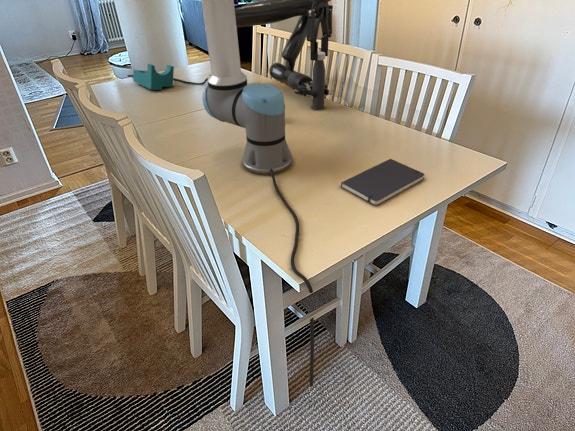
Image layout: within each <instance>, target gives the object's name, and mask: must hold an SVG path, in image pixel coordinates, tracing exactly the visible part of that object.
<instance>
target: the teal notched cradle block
mask: <svg viewBox="0 0 575 431" xmlns="http://www.w3.org/2000/svg"><path fill="white" fill-rule="evenodd" d="M174 70H175V66H173V65H171V64H167V65H166V68H165V70H164V71H163V72H161V73H160V72H158V71H157V70H156V66H155V65H154V64H152V63H147V70H143V69H141V70H140V69H133V70H132V75H133V77H132V81H133V82H134V83H136V84H138V85H141V86H143V87H144V88H147V89H149V90H154V91H155V90H157V91H158V90H159V91H163V87H164V88H165V87H166V88H174V80H173V78H174Z"/></svg>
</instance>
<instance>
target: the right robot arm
mask: <svg viewBox="0 0 575 431" xmlns="http://www.w3.org/2000/svg"><path fill="white" fill-rule="evenodd" d="M200 1H201V9H202V15H203V16H202V17H203V21H204V22H203V23H204V31H205V38H206V44H207V52H208V57H209V65H210V71H211V73H210V74H211V75H210V74H209V76H208V77H209V78H208V77H207V78H208V80H207V83H206V85H205V86H204V91H203V92H202V105H203V108H204V110H205V111H206V113H207V115H209V116H210V117H211V118H213V119H216V120H217V121H219V122H222V123H228V124H231V125H234V126H237V127H240V128H243V129H245V136H246V137H245V138H246V143H245V146H244V151H243V155H242V166H243V168H244V170H246V171H247V172H249V173H252V174H254V175H255V174H256V175H262V176H269V175H270V176H271V180H272V183H273V187H274V190H275V191H276V194H277V195H278V197H279V198H280V200H281V201H282V203H283V204H284V206H285V207H286V209H287V210H288V211H289V213H290V214H291V215H292V217H293V220H294V223H295V234H294V243H293V247H292V252H291V255H290V267H291V270H292V272H293V273H294V274H295V275H296V276H297V277H299V278H300V279H301V281H303V282H304V284H305V285H306V287H307V291H308V292H309V293H310V294H313V293H314V290H313V287H312V284H311V282H310V281H309V279H308V278H307V277H306V276H305V275H304V274H303V273H302V272H301V271H299V270H298V269H297V268H296V264H295V257H296V253H297V250H298V247H299V246H298V245H299V235H300V223H299V222H300V221H299V218H298V216H297V214H296V212H295V211H294V210H293V209H292V207H291V206H290V205H289V203H288V202H287V200H286V199H285V197H284V196H283V194H282V193H281V191H280V189H279V187H278V185H277V180H276V176H275V175H277V174H280V173H283V172H286V171H287V170H289V169H290V167H291V166H292V163H293V157H292V153H291V150H290V148H289V145H288V143H287V140H286V104H285V96H284V94H283V91H282V90H281V89H280V88H279V87H277V86H275V85H273V84H269V83H259V82H255V83H249V84H248V77H247V75H246V74H245V73H244V72H243V71H242V67H241V56H240V48H239V39H238V28H237V27H236V17H235V8H236V7H235V0H200ZM310 1H311V2H313V5H312V9H311V10H307V16H308V20H307V37H306V41H307V42H309V43H310V45H309V47H310V48H309V51H310V52H309V53H310V56H309V57H310V61H314V62H315V61H318V52H319V41H318V36H319V35H318V34H319V30H320V28H321V35H322V36H321V37H320V52H325V57H329V38H332V35H333V9H334V6H333V4H329V2H331V1H332V0H310ZM315 18H316V19H315ZM309 329H310V330H309V334H310V336H309V338H310V339H309V340H310V341H309V342H310V344H309V345H310V349H309V352H310V353H309V355H310V356H309V387H311V388H312V387H314V365H315V362H314V361H315V318H314V316H313V317H312V318H310V319H309Z"/></svg>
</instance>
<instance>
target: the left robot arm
mask: <svg viewBox="0 0 575 431" xmlns="http://www.w3.org/2000/svg"><path fill="white" fill-rule="evenodd" d="M312 5H313V2H311V1H310V0H257V1H253V2H251V3H248V4H246V5H245V4H244V5H242V6H240V7H235V17H236V27H237V29H238V28H243V27H256V26H264V25H270V24H276V23H279V22H283V21H286V20H289V19H292V18H296V17H299V18H298V20H297V22H296V24H295V27H294V29H293V30H292V32H291V34H290V36H289V38H288V40H287V41H286V44H285V46H284V47H283V50H282V51H281V56H280V57H281V58H282V59H283V60H284V62H285V63H284V64H285V65H284V64H282V63H281V62H277V61H276V62H274V63H272V64H271V65H270V67H269V69H268V72H269V75H270V78H272V79H274V80H276V81H278V82H279V83H281V84H284V85H285V86H286V87H289V88H290V89H292V91H294V95H298V96H301V97H307V96H308V97H311V98H312V97H314V98H317V92H315V91H313V90H312V89H313V78H311V76H309V75H306V74H305V73H303V72H300V71H296V70H295V66H296V62H297V60H298V57H299V55H300V53H301V52H302V49H303V47H304V45H305V42H306V41H307V20H308V16H307V10H311V9H312ZM315 19H316V18H315ZM211 74H212V73H210V74H209V76H208V77H206V78H205V79H204V81H201V82H193V81H187V80H183V79H179V78H176V77H173V81H176V82H180V83H184V84H187V85H188V84H189V85H195V86H203V85H205V84H207V82H208V78H209V77H210V75H211ZM127 77H129V78H133V74H127ZM329 95H330V89H328V84H326V83H325V95H324V96H329Z"/></svg>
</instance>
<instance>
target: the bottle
mask: <svg viewBox="0 0 575 431" xmlns="http://www.w3.org/2000/svg"><path fill="white" fill-rule="evenodd" d="M312 81H313V89H312V90H313V91H315V92H317V98H314V97H312V96H311V98H312V101H311V108H312V109H313V110H314V111H322V110H324V109H325V96H326V95H325V84H326V67H325V61H324V60H318V61H314V63H313V66H312Z"/></svg>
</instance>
